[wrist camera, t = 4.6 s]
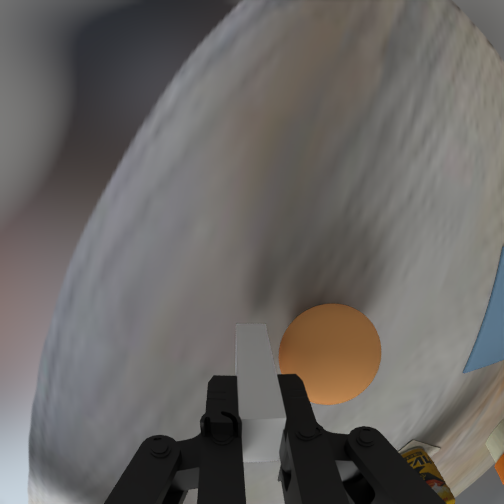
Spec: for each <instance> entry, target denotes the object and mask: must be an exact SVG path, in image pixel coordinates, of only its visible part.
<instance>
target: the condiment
mask: <svg viewBox="0 0 504 504" xmlns="http://www.w3.org/2000/svg"><path fill="white" fill-rule="evenodd" d="M440 449H441V448H437V447H434V446H430V445H428V444H425V443H421V442H418V441H415V440H412V441H411V442H410V443H409V444H407V445H406V446H405V447H404V448H402V449H401V450H400V451H398V452H399V453H400V455H401V456H402V457H403V458H404V459H405V460H406V461H407V462H408V463H409V464H410V465H411V466H412V468H413V469H414V470H415V471H416V472H417V473H418V474H419V475H420V476H421V477H422V478H423V479H424V480H425V481H426V482H427V484H428V485H429V486H430V487H431V488H432V489H433V490H434V491H435V492H436V493H437V494H438V495H439V496H440V497H441V498H442V499H443V500H444V501H445V502H446V503H447V504H455V498H454V496H453V494H452V493H451V491H450V488H449V487H448V486H447V485H446V483H445V481H444V479H443V477H442V476H441V474H440V472H439V471H438V469H437V467H436V466H435V464H434V462H433V461H432V460H431V458H430V457H431V456H432V455H434V454H435V453H436V452H438V451H439V450H440Z"/></svg>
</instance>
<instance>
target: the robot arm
mask: <svg viewBox="0 0 504 504" xmlns="http://www.w3.org/2000/svg"><path fill="white" fill-rule="evenodd" d="M235 371H236V376H217V375H214V376H213V377H212V378H211V380H210V381H209V382H208V390H207V401H206V413H205V414H204V415H203V416H202V417H201V420H200V427H201V433H200V434H199V435H198V436H196V437H194V438H192V439H188V440H183V441H177V442H176V441H175V440H174V439H173V438H171V437H169V436H164V435H156V436H151V437H149V438H147V439H146V440H145V441H144V442H143V443H142V444H141V446H140V447H139V449H138V450H137V452H136V454H135V455H134V457H133V458H132V460H131V462H130V463H129V465H128V466H127V468H126V470H125V471H124V473H123V474H122V476H121V478H120V479H119V481H118V482H117V484H116V485H115V487H114V489H113V490H112V492H111V493H110V495H109V497H108V498H107V500H106V501H105V503H104V504H183V501H184V499H185V497H186V494H187V492H188V490H189V489H195V488H198V499H197V504H246V496H245V482H244V466H243V463H244V462H271V461H278V460H279V455H280V461H281V467H280V471H279V476H278V481H281V482H282V489H283V495H284V501H285V504H447V503H446V502H445V501H444V500H443V499H442V498H441V497H440V496H439V495H438V494H437V493H436V492H435V491H434V490H433V489H432V488H431V487H430V486H429V485H428V484H427V482H426V481H425V480H424V479H423V478H422V477H421V476H420V475H419V474H418V473H417V472H416V471H415V470H414V469H413V468H412V466H411V465H410V464H409V463H408V462H407V461H406V460H405V459H404V458H403V457H402V456H401V455H400V453H399V452H398V451H397V450H396V449H395V448H394V447H393V446H392V445H391V444H390V443H389V441H388V440H387V439H386V438H385V437H384V436H383V435H382V434H381V433H380V432H379V431H378V430H376V429H374V428H371V427H365V426H362V427H358V428H355V429H354V430H352V431H351V432H350V434H349V435H348V434H337V433H331V432H328V431H326V430H324V429H323V427H322V426H320V425H319V424H318V423H317V422H316V419H315V416H314V413H313V410H312V407H311V404H310V401H309V398H308V395H307V392H306V390H305V386H304V383H303V380H302V379H301V378H300V377H299V376H298V375H297V374H277V373H276V368H275V364H274V359H273V355H272V350H271V346H270V341H269V337H268V332H267V327H266V323H236V354H235Z"/></svg>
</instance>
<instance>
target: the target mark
mask: <svg viewBox="0 0 504 504" xmlns="http://www.w3.org/2000/svg"><path fill="white" fill-rule="evenodd" d="M502 360H504V247H502V252H501V257H500V262H499V266H498V271H497V275H496V279H495V283H494V287H493V290H492V294H491V298H490V301H489V304H488V308H487V311H486V314H485V317H484V320H483V323H482V326H481V329H480V331H479V334H478V337H477V340H476V342H475V345H474V347H473V350H472V352H471V355H470V357H469V359H468V362H467V364H466V366H465V369H464V371H463V373H467V372H470V371H473V370H476V369H479V368H482V367H485V366H488V365H491V364H494V363H496V362H499V361H502Z"/></svg>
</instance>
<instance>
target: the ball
mask: <svg viewBox="0 0 504 504" xmlns="http://www.w3.org/2000/svg"><path fill="white" fill-rule="evenodd" d="M380 361H381V343H380V339H379V336H378V333H377V331H376V329H375V327H374V325H373V324H372V323H371V321H370V320H369V319H368V318H367V317H366V316H365V315H364V314H362V313H361V312H360V311H358V310H356V309H354V308H352V307H350V306H347V305H342V304H333V303H332V304H323V305H318V306H315V307H312V308H310V309H308V310H306V311H304V312H303V313H301V314H300V315H299V316H298V317H296V318H295V319H294V320H293V322H292V323H291V324H290V325H289V326H288V328H287V329H286V331H285V333H284V335H283V338H282V340H281V343H280V348H279V365H280V369H281V373H282V374H297V375H298V376H299V377H300V378H301V379H302V380H303V383H304V386H305V390H306V392H307V395H308V398H309V401H310V402H313V403H316V404H323V405H333V404H339V403H343V402H346V401H348V400H351V399H353V398H354V397H356V396H358V395H359V394H360V393H362V392H363V391H364V390H365V389H366V388H367V387H368V386H369V385H370V383H371V382H372V381H373V379H374V377H375V375H376V373H377V371H378V368H379V365H380Z"/></svg>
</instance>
